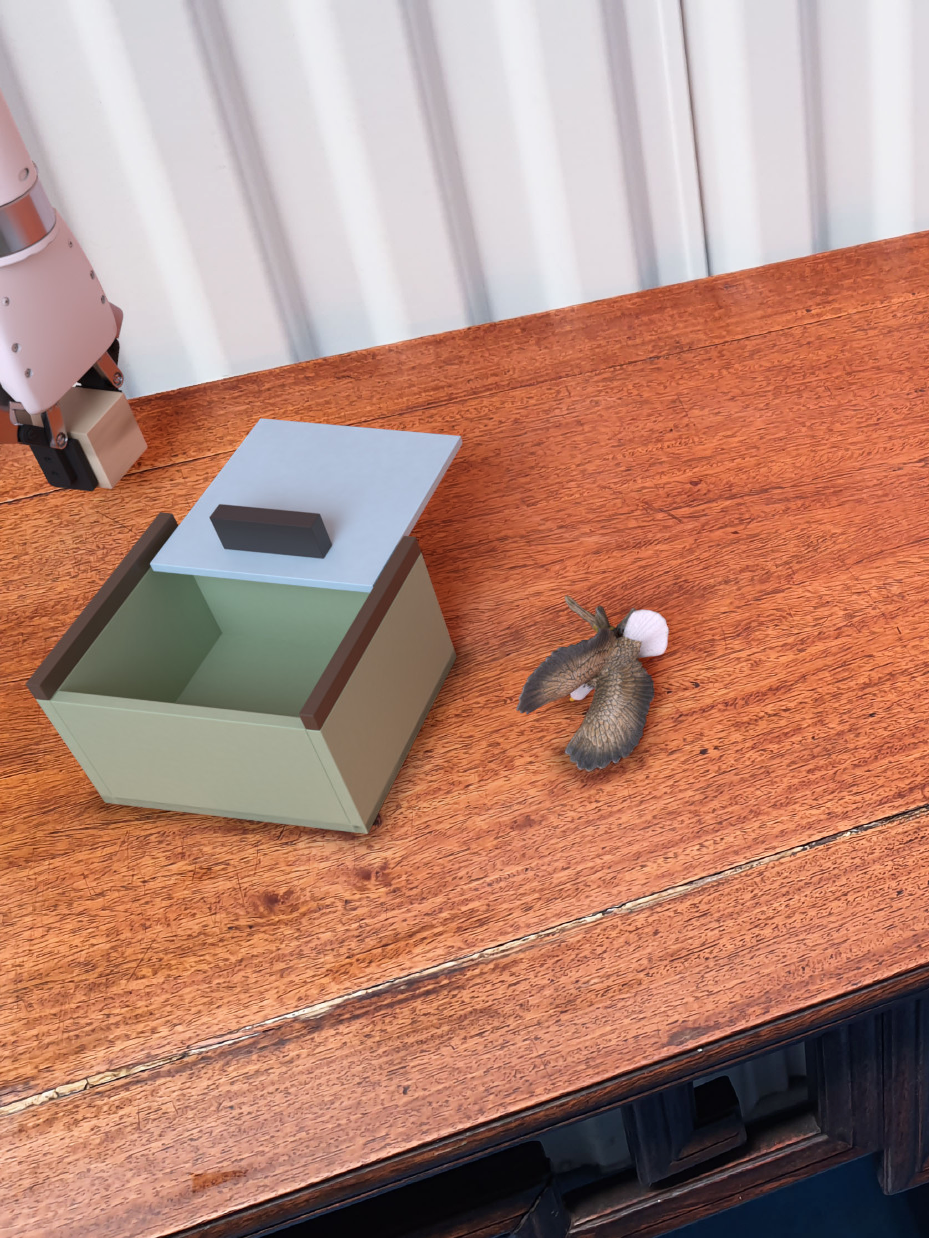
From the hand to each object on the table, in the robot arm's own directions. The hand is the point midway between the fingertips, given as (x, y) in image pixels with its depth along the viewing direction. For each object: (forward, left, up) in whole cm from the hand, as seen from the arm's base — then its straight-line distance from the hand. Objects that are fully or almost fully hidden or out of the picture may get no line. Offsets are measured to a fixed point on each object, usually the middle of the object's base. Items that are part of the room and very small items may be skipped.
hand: (96, 459), depth 94 cm
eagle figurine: (+39, -14, -4) cm, 42 cm away
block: (0, 0, 0) cm, 0 cm away
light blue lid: (+21, -8, +5) cm, 23 cm away
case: (+21, -18, -4) cm, 28 cm away
